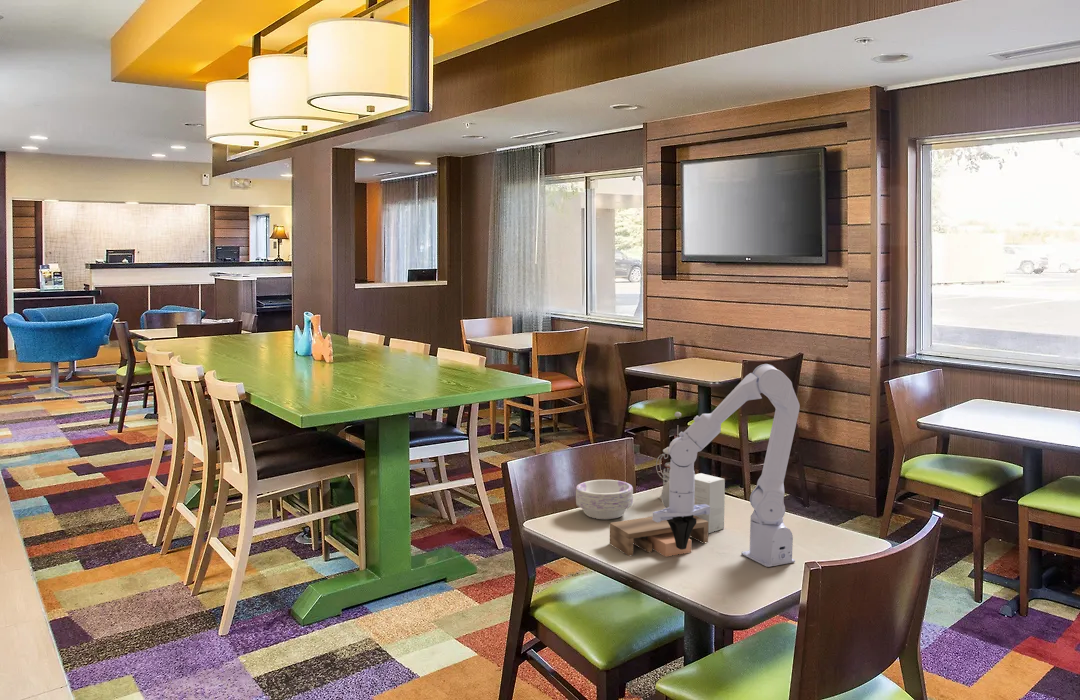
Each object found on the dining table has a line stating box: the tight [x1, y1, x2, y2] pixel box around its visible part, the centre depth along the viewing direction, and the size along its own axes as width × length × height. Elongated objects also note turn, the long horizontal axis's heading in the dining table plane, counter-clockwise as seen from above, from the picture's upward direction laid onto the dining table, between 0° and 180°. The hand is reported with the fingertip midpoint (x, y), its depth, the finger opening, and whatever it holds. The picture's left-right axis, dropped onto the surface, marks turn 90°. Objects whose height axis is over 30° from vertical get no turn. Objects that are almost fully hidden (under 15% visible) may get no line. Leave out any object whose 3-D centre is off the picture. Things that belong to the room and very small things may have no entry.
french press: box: [655, 411, 682, 500], centre depth 242 cm, size 10×12×25 cm
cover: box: [647, 532, 692, 557], centre depth 201 cm, size 8×7×3 cm
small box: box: [694, 472, 726, 534], centre depth 216 cm, size 8×6×13 cm
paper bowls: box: [575, 479, 634, 520], centre depth 227 cm, size 15×15×8 cm
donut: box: [660, 481, 669, 508], centre depth 228 cm, size 10×4×10 cm, turn 105°
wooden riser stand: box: [609, 516, 709, 557], centre depth 205 cm, size 9×22×5 cm, turn 114°
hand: (681, 548), depth 196 cm, fingers closed, pressing on cover
